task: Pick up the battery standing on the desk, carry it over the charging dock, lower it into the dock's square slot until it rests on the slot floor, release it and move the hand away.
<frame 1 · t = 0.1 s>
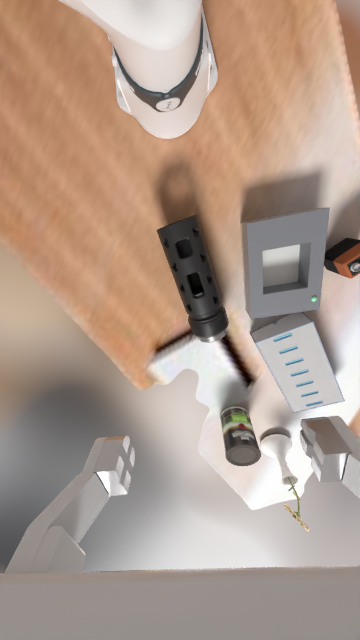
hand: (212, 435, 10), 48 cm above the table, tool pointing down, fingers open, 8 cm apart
white slatted block: (291, 358, 66), on the table
muzzle brake: (195, 277, 56), on the table
flower in vase: (274, 441, 83), on the table
dock: (275, 264, 53), on the table
coffee can: (234, 416, 77), on the table
battery: (335, 253, 52), on the table
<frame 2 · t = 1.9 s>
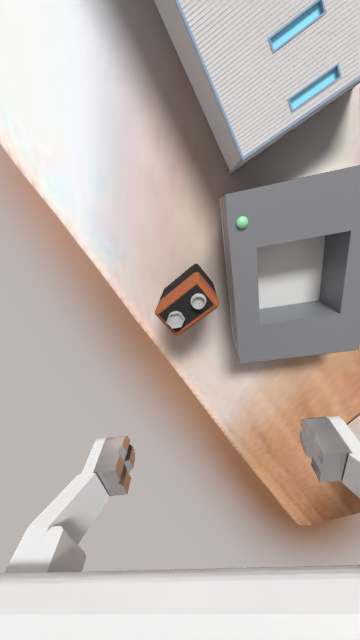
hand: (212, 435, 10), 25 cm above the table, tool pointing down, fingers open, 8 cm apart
dock: (282, 271, 32), on the table
battery: (188, 286, 34), on the table
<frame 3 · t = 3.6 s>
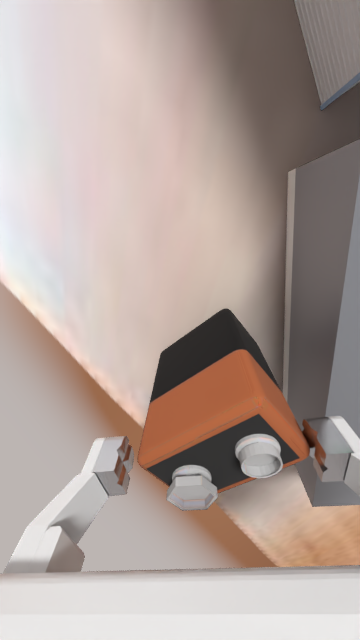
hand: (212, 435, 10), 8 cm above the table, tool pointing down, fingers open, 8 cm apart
battery: (206, 346, 18), on the table, touching gripper
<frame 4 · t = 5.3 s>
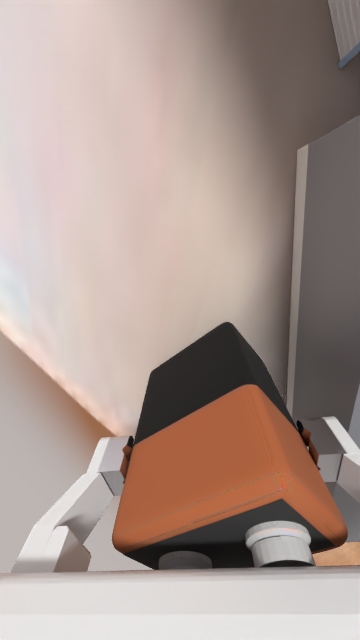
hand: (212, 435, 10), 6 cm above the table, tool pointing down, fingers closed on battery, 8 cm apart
battery: (204, 364, 15), on the table, touching gripper
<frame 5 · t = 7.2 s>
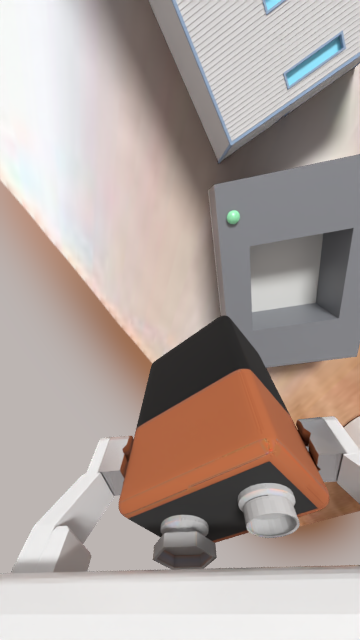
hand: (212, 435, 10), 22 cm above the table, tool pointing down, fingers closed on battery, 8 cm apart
dock: (276, 271, 29), on the table
battery: (203, 356, 16), point 16 cm above the table, touching gripper
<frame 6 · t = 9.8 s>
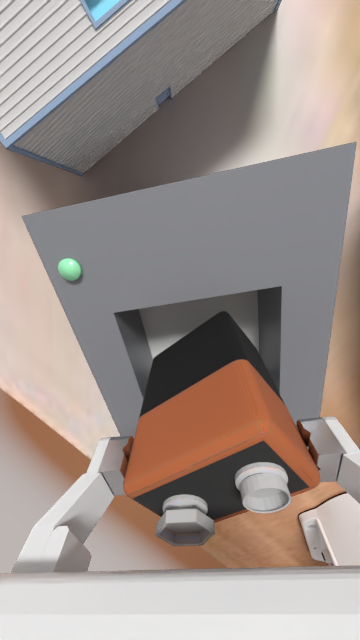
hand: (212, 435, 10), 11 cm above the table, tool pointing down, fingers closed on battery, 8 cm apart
dock: (200, 326, 20), on the table
battery: (202, 351, 16), point 4 cm above the table, touching gripper
when the fingers open (7 cm above the table, at t = 11.6 s): battery stays where it is, resting on dock.
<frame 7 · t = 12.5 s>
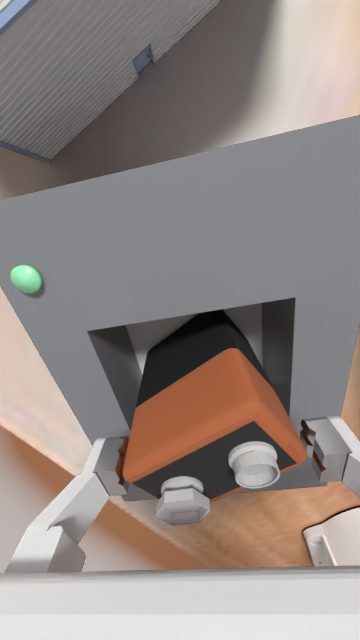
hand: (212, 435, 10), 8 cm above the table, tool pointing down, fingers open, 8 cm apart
dock: (196, 338, 18), on the table
battery: (195, 343, 17), point 1 cm above the table, touching dock, gripper
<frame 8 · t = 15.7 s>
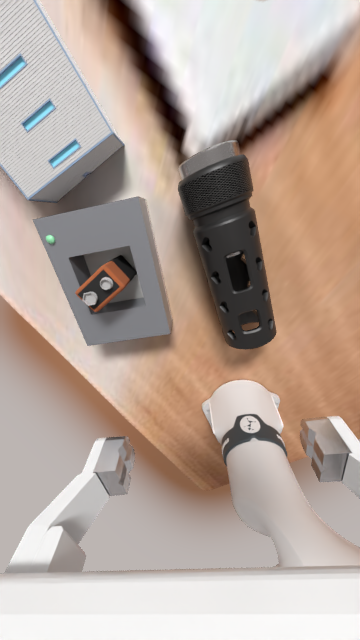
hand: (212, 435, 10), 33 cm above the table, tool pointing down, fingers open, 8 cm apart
white slatted block: (15, 64, 29), on the table
muzzle brake: (225, 254, 39), on the table
dock: (119, 273, 41), on the table
battery: (117, 274, 40), point 1 cm above the table, touching dock
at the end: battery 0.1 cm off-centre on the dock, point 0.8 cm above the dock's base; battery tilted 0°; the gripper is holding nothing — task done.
